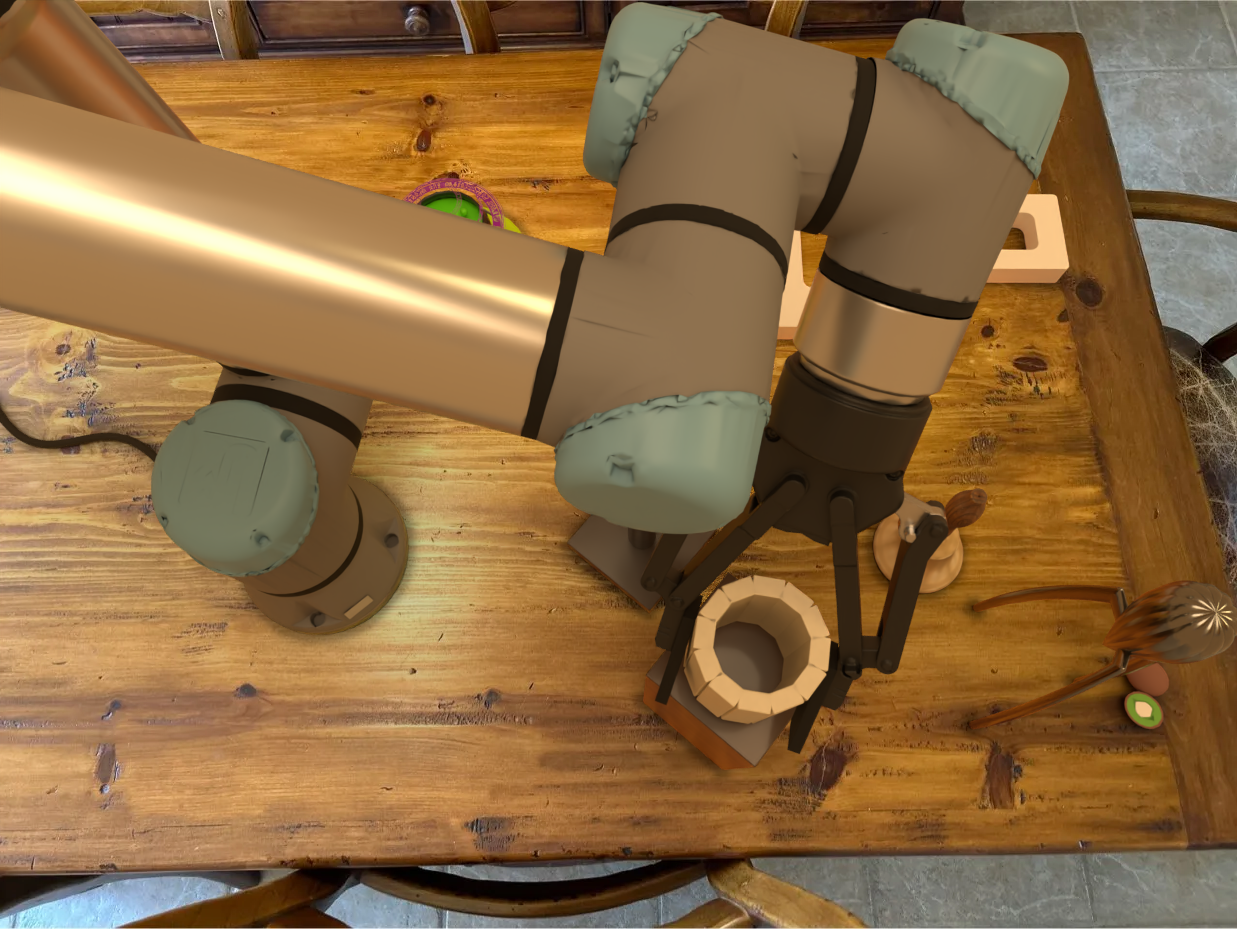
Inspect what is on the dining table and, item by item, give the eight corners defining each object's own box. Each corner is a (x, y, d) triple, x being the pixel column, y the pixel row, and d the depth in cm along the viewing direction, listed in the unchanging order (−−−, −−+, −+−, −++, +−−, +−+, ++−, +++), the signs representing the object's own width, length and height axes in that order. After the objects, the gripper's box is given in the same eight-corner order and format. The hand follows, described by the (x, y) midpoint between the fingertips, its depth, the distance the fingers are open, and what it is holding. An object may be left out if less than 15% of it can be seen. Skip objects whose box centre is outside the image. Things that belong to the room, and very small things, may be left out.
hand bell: (856, 527, 84) (905, 473, 69) (933, 494, 85) (998, 432, 70) (900, 607, 81) (960, 569, 66) (979, 572, 82) (1056, 526, 67)
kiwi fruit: (1093, 685, 78) (1108, 682, 76) (1132, 649, 79) (1148, 644, 77) (1141, 736, 77) (1158, 735, 74) (1181, 698, 78) (1198, 696, 75)
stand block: (642, 702, 79) (645, 675, 58) (704, 624, 81) (728, 571, 60) (722, 770, 77) (755, 767, 56) (784, 688, 79) (837, 656, 58)
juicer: (974, 602, 81) (1156, 510, 53) (1082, 681, 79) (1334, 628, 50) (916, 687, 79) (1074, 637, 51) (1025, 771, 76) (1256, 768, 48)
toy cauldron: (543, 216, 96) (532, 147, 86) (513, 337, 91) (498, 281, 81) (410, 197, 97) (383, 127, 87) (373, 316, 92) (340, 257, 82)
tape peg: (567, 546, 84) (556, 508, 72) (634, 469, 86) (634, 420, 74) (649, 613, 81) (651, 586, 70) (715, 532, 84) (729, 492, 72)
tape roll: (661, 670, 57) (666, 651, 48) (731, 582, 59) (748, 550, 50) (753, 747, 55) (776, 742, 47) (822, 655, 57) (856, 634, 48)
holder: (1045, 209, 95) (1056, 194, 93) (1071, 360, 89) (1083, 348, 87) (627, 208, 96) (627, 193, 94) (625, 358, 90) (624, 345, 88)
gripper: (1055, 410, 46) (891, 731, 56) (679, 294, 48) (589, 622, 59) (1087, 467, 39) (895, 820, 49) (650, 330, 42) (554, 692, 52)
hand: (729, 712), depth 54 cm, fingers closed on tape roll, 8 cm apart
